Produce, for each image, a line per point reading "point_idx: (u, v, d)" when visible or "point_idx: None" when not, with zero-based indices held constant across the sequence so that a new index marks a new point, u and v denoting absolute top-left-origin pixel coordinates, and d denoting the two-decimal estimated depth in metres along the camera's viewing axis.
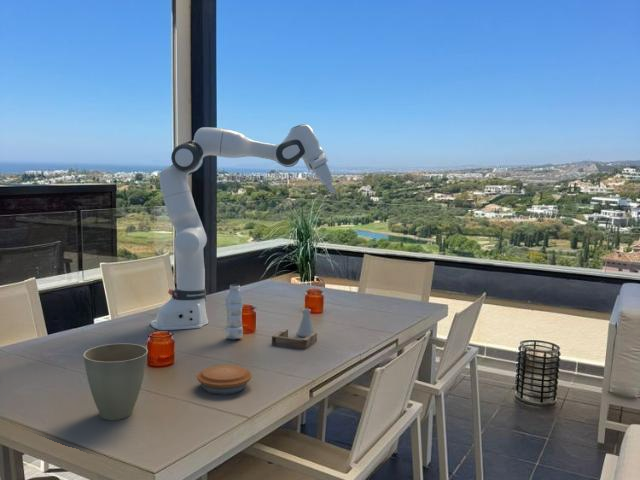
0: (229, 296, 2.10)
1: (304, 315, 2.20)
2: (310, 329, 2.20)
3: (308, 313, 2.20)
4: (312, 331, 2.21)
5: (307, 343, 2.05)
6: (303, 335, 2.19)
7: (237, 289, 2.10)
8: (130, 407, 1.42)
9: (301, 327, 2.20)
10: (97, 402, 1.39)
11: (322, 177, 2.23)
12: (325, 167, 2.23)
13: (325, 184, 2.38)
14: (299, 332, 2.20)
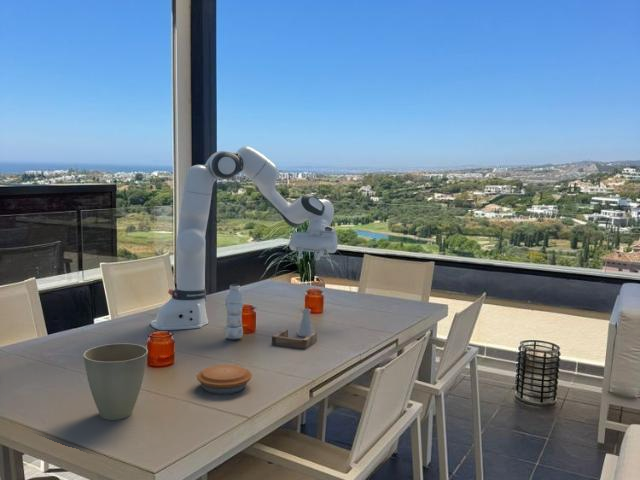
0: (229, 296, 2.10)
1: (304, 315, 2.20)
2: (310, 329, 2.20)
3: (308, 313, 2.20)
4: (312, 331, 2.21)
5: (307, 343, 2.05)
6: (303, 335, 2.19)
7: (237, 289, 2.10)
8: (130, 407, 1.42)
9: (301, 327, 2.20)
10: (97, 402, 1.39)
11: (335, 243, 2.36)
12: None
13: (301, 249, 2.39)
14: (299, 332, 2.20)
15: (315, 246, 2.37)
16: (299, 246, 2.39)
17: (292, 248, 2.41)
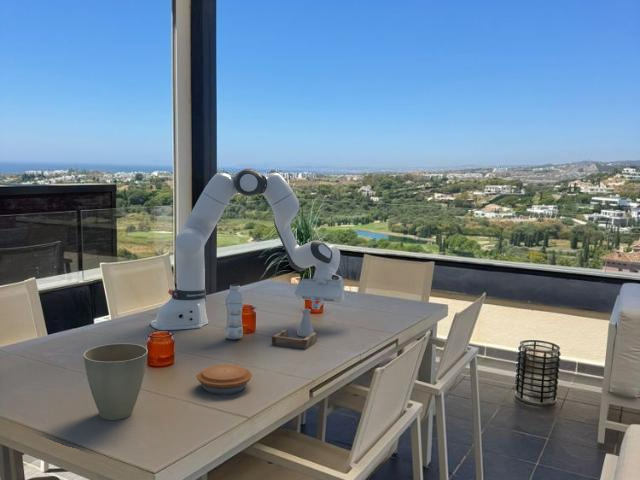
0: (229, 296, 2.10)
1: (304, 315, 2.20)
2: (310, 329, 2.20)
3: (308, 313, 2.20)
4: (312, 331, 2.21)
5: (307, 343, 2.05)
6: (303, 335, 2.19)
7: (237, 289, 2.10)
8: (130, 407, 1.42)
9: (301, 327, 2.20)
10: (97, 402, 1.39)
11: (342, 292, 2.30)
12: None
13: (314, 299, 2.32)
14: (299, 332, 2.20)
15: (322, 295, 2.31)
16: (305, 295, 2.33)
17: (298, 297, 2.36)
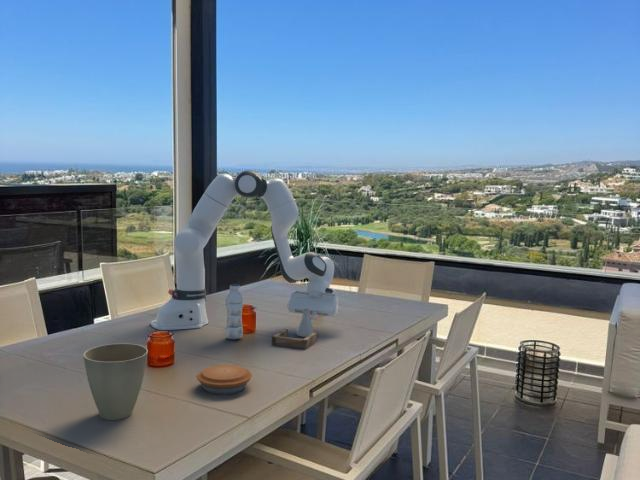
0: (229, 296, 2.10)
1: (304, 315, 2.20)
2: (310, 329, 2.20)
3: (308, 313, 2.20)
4: (312, 331, 2.20)
5: (307, 343, 2.05)
6: (303, 335, 2.18)
7: (237, 289, 2.10)
8: (130, 407, 1.42)
9: (301, 327, 2.20)
10: (97, 402, 1.39)
11: (336, 306, 2.24)
12: None
13: None
14: (299, 332, 2.20)
15: (315, 309, 2.25)
16: (298, 309, 2.27)
17: (291, 310, 2.29)
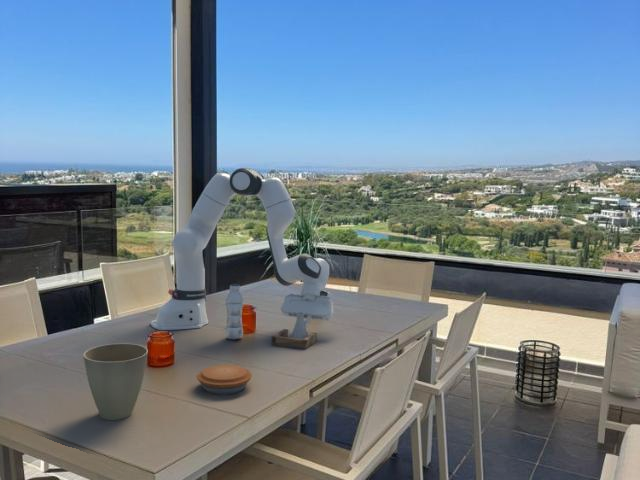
0: (229, 296, 2.10)
1: (298, 319, 2.14)
2: (304, 334, 2.13)
3: (302, 317, 2.14)
4: (306, 335, 2.14)
5: (307, 343, 2.05)
6: None
7: (237, 289, 2.10)
8: (130, 407, 1.42)
9: (295, 331, 2.13)
10: (97, 402, 1.39)
11: (331, 310, 2.18)
12: None
13: None
14: (293, 336, 2.13)
15: (309, 313, 2.18)
16: (292, 312, 2.21)
17: (284, 314, 2.23)
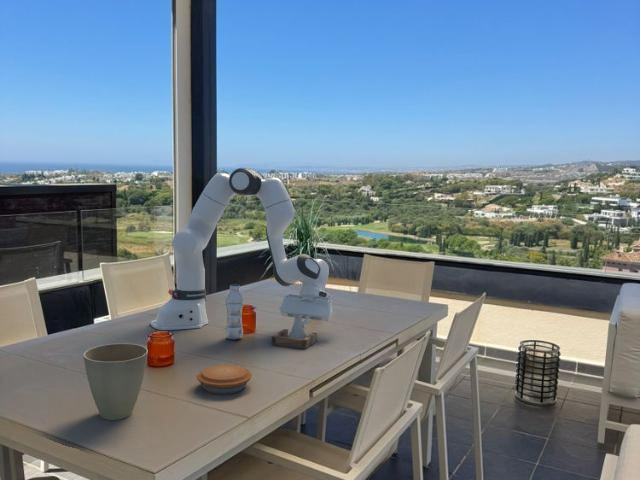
0: (229, 296, 2.10)
1: (296, 320, 2.11)
2: (302, 335, 2.11)
3: (300, 318, 2.12)
4: (304, 337, 2.12)
5: (307, 343, 2.05)
6: None
7: (237, 289, 2.10)
8: (130, 407, 1.42)
9: (293, 333, 2.11)
10: (97, 402, 1.39)
11: (330, 310, 2.16)
12: None
13: None
14: None
15: (308, 313, 2.17)
16: (291, 313, 2.20)
17: (283, 314, 2.22)
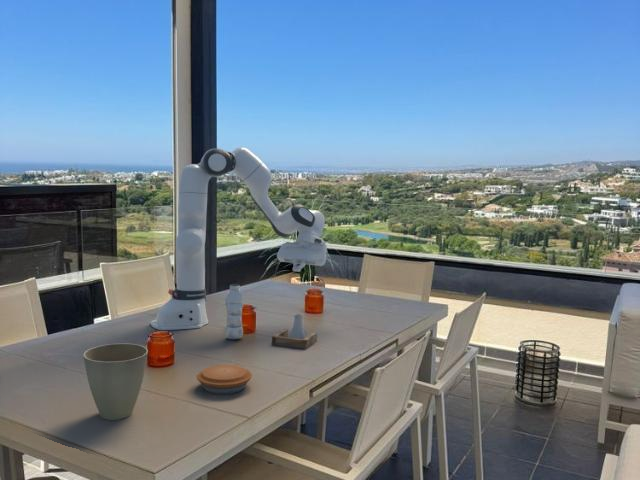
0: (229, 296, 2.10)
1: (296, 320, 2.11)
2: (302, 335, 2.11)
3: (300, 318, 2.12)
4: (304, 337, 2.12)
5: (307, 343, 2.05)
6: None
7: (237, 289, 2.10)
8: (130, 407, 1.42)
9: (293, 333, 2.11)
10: (97, 402, 1.39)
11: (324, 256, 2.30)
12: None
13: (296, 261, 2.32)
14: None
15: (303, 258, 2.31)
16: (287, 257, 2.33)
17: (280, 259, 2.36)
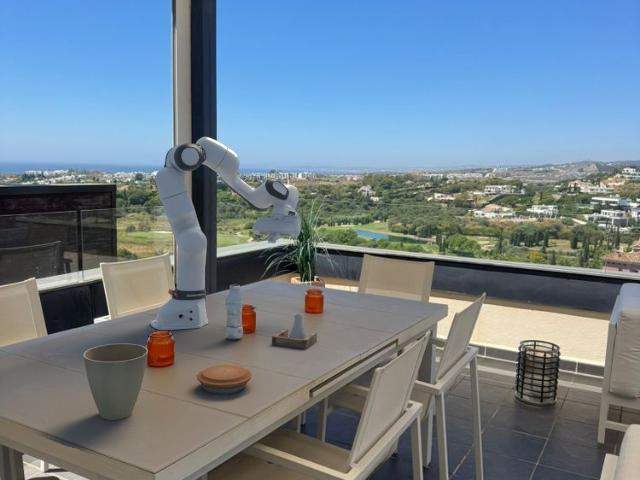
0: (229, 296, 2.10)
1: (296, 320, 2.11)
2: (302, 335, 2.11)
3: (300, 318, 2.12)
4: (304, 337, 2.12)
5: (307, 343, 2.05)
6: None
7: (237, 289, 2.10)
8: (130, 407, 1.42)
9: (293, 333, 2.11)
10: (97, 402, 1.39)
11: (298, 227, 2.37)
12: (300, 226, 2.41)
13: (271, 233, 2.39)
14: None
15: (278, 230, 2.38)
16: (262, 230, 2.40)
17: (256, 232, 2.43)
